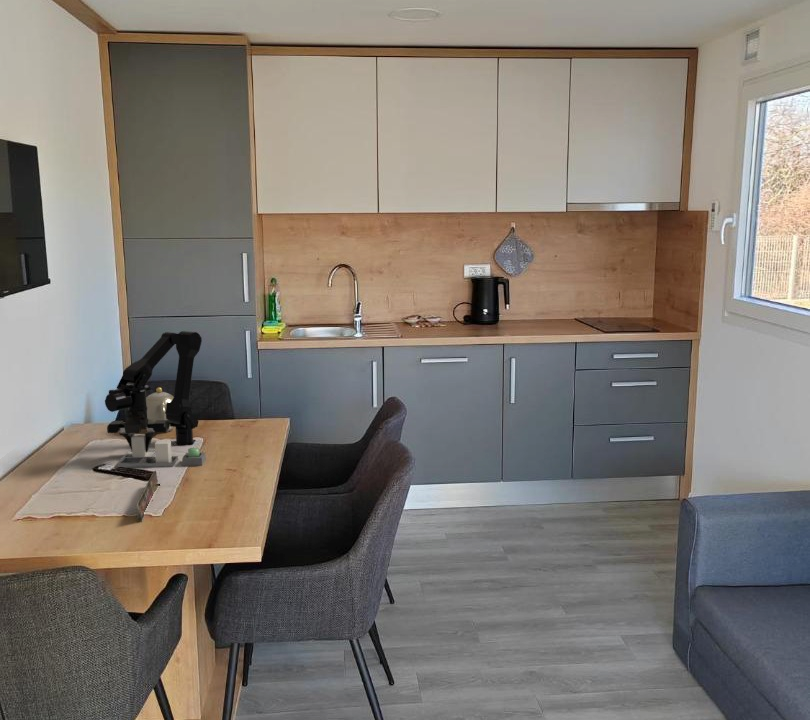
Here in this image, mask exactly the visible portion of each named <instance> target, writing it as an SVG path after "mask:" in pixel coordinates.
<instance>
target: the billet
mask: <svg viewBox="0 0 810 720" xmlns="http://www.w3.org/2000/svg"><path fill="white" fill-rule="evenodd" d="M133 434H134V435H133V436H132V437H131V441H132V452H131V454H132V456H131V457H147V455H148V454H149V451H148V452H146V448H145V447H146V436H145V433H133Z"/></svg>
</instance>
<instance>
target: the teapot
mask: <svg viewBox="0 0 810 720" xmlns="http://www.w3.org/2000/svg"><path fill="white" fill-rule="evenodd" d="M155 391H156V392H152V393H151V394H149V395H148V396H146V404H147V419H148V423H155V422H156V421H157V420H167V419H166V414H165V412H166V404H167V402H171V401H172V399H173V398H174V395H172V394H170V393H168V392H166V391H163V389H162V387H157V388H156V390H155ZM169 425H170V423H169ZM174 428H175V427H171V426H170V428H169V429H168V430H167V431H166V432H157V433H156V434H163V433H165V434H166V433H170V432H172V431H173V430H174Z"/></svg>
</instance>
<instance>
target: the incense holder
mask: <svg viewBox="0 0 810 720" xmlns="http://www.w3.org/2000/svg"><path fill="white" fill-rule="evenodd" d="M157 475H158V474H157V472H156V470H154V472H152V474H151V476H150V477H149V480H148V481H147V483H146V486H145V487H144V489H143V491H142V494H141V496H140V497H139V499H138V501H137V503H136V518H137V523H142V522H143V520H144V519H145V517H146V515H144V512H145V510H146V508H147V506H148V504H149V502H150V500H151V498H152V496H153V494H154V492H155V491H156V490H157V488H158V486H160V487H161V485H160V484H161V483H158V482H159V481H158V476H157Z"/></svg>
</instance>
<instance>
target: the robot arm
mask: <svg viewBox="0 0 810 720" xmlns="http://www.w3.org/2000/svg"><path fill="white" fill-rule="evenodd" d="M202 340H203V339H202V336H201V335H200V334H199V332H197V331H188V330H187V331H186V330H182V331H180V332H178V333H176V332H170V331H169V332H168V331H166V332H163V333H162V334H161V335H160V338H159V339H158V340H157V341H156V342H155V343H154V344H153V345H152V347H151V348H150V349H149V350H148V351H147V352H146V353H145V354H144V355H143V356H142V358H140V359H139V360H136V361H134V362H132V363H131V364H130V365H127V367H126V368H125V369H124V370H123V372H122V375H121V378H120V380H119V382H118V384H117V385H116V389H109V390H108V394H106V396H105V400H104V405H105V407H106V410H108V411H109V412H111V413H113V412H118V411H121V410H127V412H126V413H127V416H126V418H125V420H112V421H111V422H109V424H108V425H107V426H106V430H107V431H106V432H107V434H118V432H119V436H121V437H123V438H124V439H125V440H126V442H127V444H128V446H129V447H130V450H132V441H131V437H132V436H133V435H134V434H141V432H142V430H146V432H145V433H144V434H145V436H146V447H145V448H146V452H148V453H149V451H148V450H150V445H151V443H152V440H153V437H154V435H156V434H158V433H157V432H165V433H167V432H166V431H167V430H168V429H169V428H170V426H171V427H174V428H175V443H173V446H193V445H194V443H195V442H196V441H197V440H196V439H194V432H193V431H194V430H195V428H197V427H198V425H199V420H198V418H196V417H195V416H194V414H193V407H192V405H191V401H190V399H189V398H190V392H191V391H190V390H191V384H192V377H193V376H192V375H193V369H194V368H193V367H194V360H195V357H196V356H197V355H198V353H199V352H200V349H201V346H202ZM174 346H175V349H176V352H177V354H178V362H177V363H178V365H177V371H176V378H175V379H176V380H175V386H174V387H175V388H174V393H173V397H174V398H173V399H172V401H171V402H167V404H166V412H165V414H166V419H167V420H157V421H156V422H155V423H148V419H147V404H146V398H147V391H151V390H152V387H151V386H149V385H148V384H147V383H148V382H149V380H150V379H151V377H152V374H153V370H154V368H155V366H157V365H158V364H159V362H160V361H161V360H162V359H163V358H164V357H165V356H166V355H167V353H169V351H170V350H171V349H172V348H173V347H174ZM169 423H170V425H169ZM193 429H194V430H193Z"/></svg>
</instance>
